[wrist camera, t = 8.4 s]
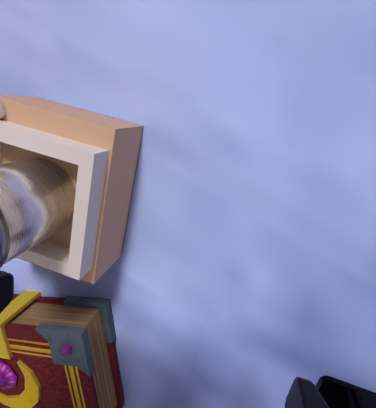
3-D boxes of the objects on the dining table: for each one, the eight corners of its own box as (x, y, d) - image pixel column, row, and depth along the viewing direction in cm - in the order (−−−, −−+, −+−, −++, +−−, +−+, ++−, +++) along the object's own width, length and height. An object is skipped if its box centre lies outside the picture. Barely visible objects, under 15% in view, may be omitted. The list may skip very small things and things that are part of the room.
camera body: (120, 256, 23) (80, 298, 18) (30, 225, 24) (-33, 256, 19) (143, 125, 19) (100, 131, 14) (36, 97, 21) (-38, 92, 15)
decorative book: (128, 401, 28) (102, 459, 23) (-11, 377, 32) (-58, 423, 27) (111, 295, 25) (76, 338, 20) (-42, 283, 28) (-101, 316, 24)
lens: (83, 168, 17) (-6, 197, 11) (75, 242, 18) (-6, 299, 13) (10, 146, 17) (-108, 162, 12) (8, 219, 19) (-95, 263, 14)
